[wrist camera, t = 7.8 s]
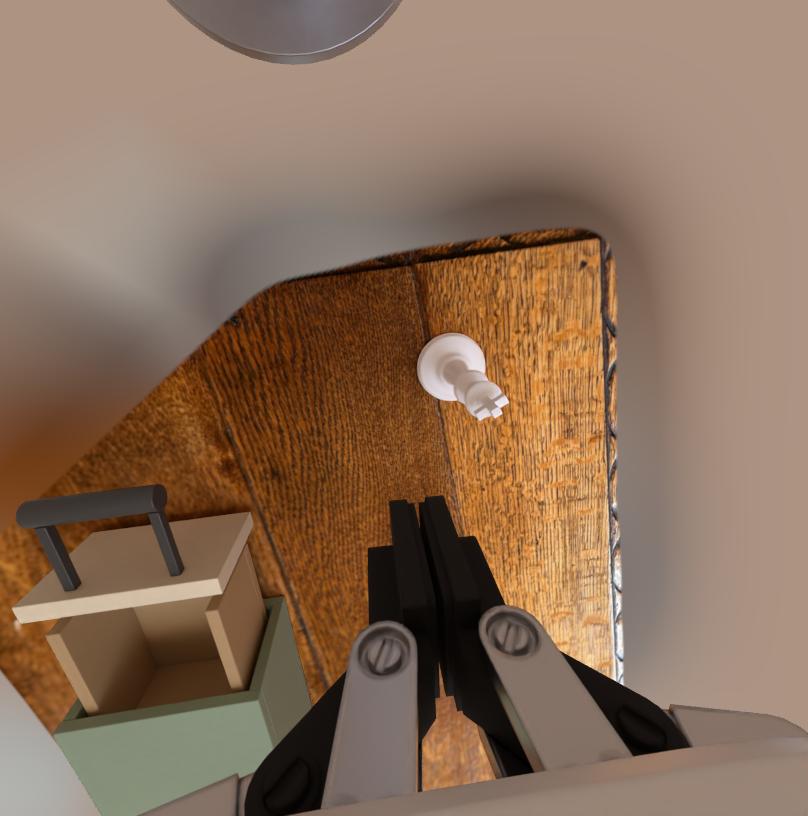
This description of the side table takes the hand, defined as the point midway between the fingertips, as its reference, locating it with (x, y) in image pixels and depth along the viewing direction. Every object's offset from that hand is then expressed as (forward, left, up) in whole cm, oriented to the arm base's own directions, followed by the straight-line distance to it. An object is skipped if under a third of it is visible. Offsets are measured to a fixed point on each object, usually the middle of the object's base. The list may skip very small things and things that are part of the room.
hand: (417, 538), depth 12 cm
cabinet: (+14, -26, -17) cm, 34 cm away
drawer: (+3, -20, -16) cm, 26 cm away
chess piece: (+1, +5, -17) cm, 18 cm away
